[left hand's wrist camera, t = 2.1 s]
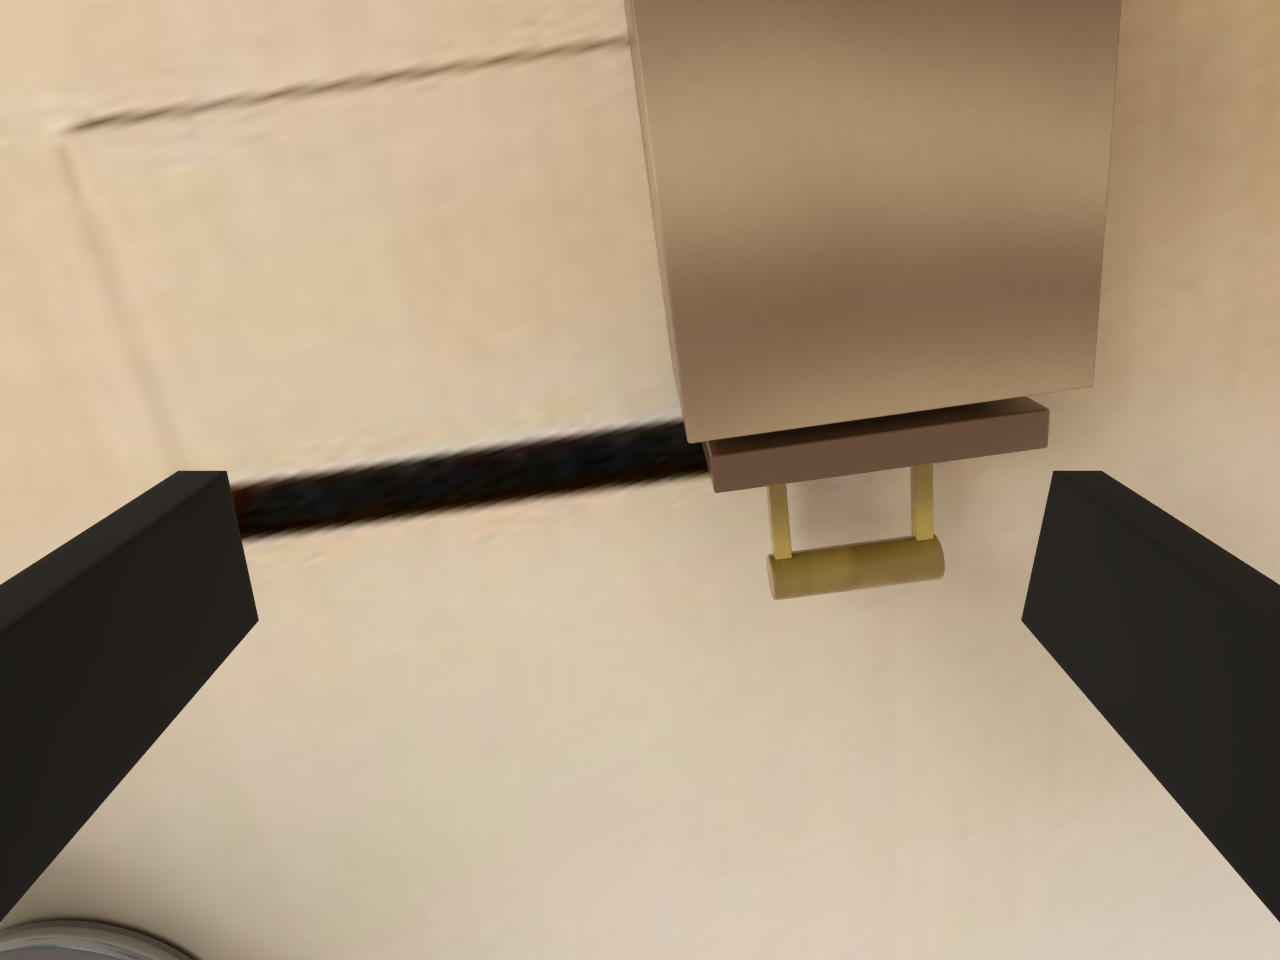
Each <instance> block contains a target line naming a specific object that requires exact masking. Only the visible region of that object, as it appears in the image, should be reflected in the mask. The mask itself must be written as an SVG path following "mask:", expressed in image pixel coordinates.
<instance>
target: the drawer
mask: <svg viewBox="0 0 1280 960" xmlns="http://www.w3.org/2000/svg"><path fill="white" fill-rule="evenodd" d="M1048 429H1049V409H1048V408H1046V407H1044V406H1042V405H1041V404H1039V403H1037V402H1035V401H1034V400H1032V399H1030V398H1028V397H1026V396H1023V397H1016V398H1009V399H1001V400H994V401H987V402H980V403H973V404H966V405H959V406H952V407H945V408H938V409H930V410H923V411H916V412H909V413H902V414H895V415H888V416H881V417H874V418H866V419H859V420H852V421H845V422H838V423H831V424H824V425H817V426H810V427H803V428H795V429H788V430H781V431H774V432H767V433H760V434H753V435H746V436H739V437H732V438H724V439H717V440H710V441H703V442H702V445H703V449H704V453H705V457H706V461H707V465H708V469H709V473H710V477H711V481H712V485H713V489H714V492H715V493H720V492H727V491H734V490H742V489H749V488H756V487H764V486H767V495H768V506H769V517H770V527H771V538H772V549H773V554H770V555H768V556H767V571H768V578H769V584H770V589H771V593H772V596H773V598H774V600H782V599H789V598H797V597H805V596H812V595H820V594H828V593H835V592H843V591H851V590H859V589H866V588H874V587H882V586H889V585H897V584H905V583H912V582H920V581H928V580H935V579H940V578H942V577H943V575H944V568H945V563H944V555H943V550H942V547H941V544H940V542H939V540H938V538H937V536H936V535H935V534H933V463H938V462H946V461H953V460H960V459H967V458H975V457H982V456H989V455H997V454H1004V453H1011V452H1018V451H1026V450H1033V449H1040V448H1046V447H1047V446H1048ZM909 466H911V518H912V535H913V536H905V537H898V538H890V539H883V540H875V541H868V542H860V543H853V544H845V545H838V546H830V547H823V548H815V549H808V550H800V551H793V552H792V551H791V539H790V527H789V515H788V502H787V490H786V483H793V482H800V481H807V480H815V479H822V478H829V477H836V476H844V475H851V474H858V473H866V472H873V471H880V470H887V469H895V468H902V467H909Z"/></svg>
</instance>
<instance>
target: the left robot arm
mask: <svg viewBox="0 0 1280 960" xmlns="http://www.w3.org/2000/svg"><path fill="white" fill-rule="evenodd" d="M258 621H259V620H258V615H257V610H256V606H255V601H254V596H253V592H252V587H251V582H250V578H249V573H248V568H247V564H246V559H245V554H244V550H243V545H242V540H241V536H240V531H239V526H238V522H237V517H236V513H235V508H234V503H233V499H232V494H231V489H230V485H229V480H228V475H227V471H177V472H176V473H174V474H173V475H171V476H170V477H168V478H166V479H165V480H163V481H162V482H160V483H159V484H157V485H156V486H154V487H152V488H151V489H149V490H148V491H146V492H145V493H143V494H142V495H140V496H138V497H137V498H135V499H134V500H132V501H131V502H129V503H127V504H126V505H124V506H123V507H121V508H120V509H118V510H117V511H115V512H113V513H112V514H110V515H109V516H107V517H106V518H104V519H102V520H101V521H99V522H98V523H96V524H95V525H93V526H92V527H90V528H88V529H87V530H85V531H84V532H82V533H81V534H79V535H78V536H76V537H74V538H73V539H71V540H70V541H68V542H67V543H65V544H63V545H62V546H60V547H59V548H57V549H56V550H54V551H53V552H51V553H49V554H48V555H46V556H45V557H43V558H42V559H40V560H38V561H37V562H35V563H34V564H32V565H31V566H29V567H28V568H26V569H24V570H23V571H21V572H20V573H18V574H17V575H15V576H13V577H12V578H10V579H9V580H7V581H6V582H4V583H3V584H1V585H0V922H1V921H2V920H3V918H4V917H5V916H6V915H7V914H8V913H9V911H10V910H11V909H12V908H13V907H14V906H15V904H16V903H17V902H18V901H19V900H20V899H21V897H22V896H23V895H24V894H25V893H26V892H27V890H28V889H29V888H30V887H31V886H32V885H33V883H34V882H35V881H36V880H37V879H38V878H39V876H40V875H41V874H42V873H43V872H44V871H45V869H46V868H47V867H48V866H49V865H50V863H51V862H52V861H53V860H54V859H55V858H56V856H57V855H58V854H59V853H60V852H61V851H62V849H63V848H64V847H65V846H66V845H67V844H68V842H69V841H70V840H71V839H72V838H73V837H74V835H75V834H76V833H77V832H78V831H79V830H80V828H81V827H82V826H83V825H84V824H85V823H86V821H87V820H88V819H89V818H90V817H91V816H92V814H93V813H94V812H95V811H96V810H97V809H98V807H99V806H100V805H101V804H102V803H103V802H104V800H105V799H106V798H107V797H108V796H109V795H110V793H111V792H112V791H113V790H114V789H115V788H116V786H117V785H118V784H119V783H120V782H121V781H122V779H123V778H124V777H125V776H126V775H127V774H128V772H129V771H130V770H131V769H132V768H133V767H134V765H135V764H136V763H137V762H138V761H139V760H140V758H141V757H142V756H143V755H144V754H145V753H146V751H147V750H148V749H149V748H150V747H151V746H152V744H153V743H154V742H155V741H156V740H157V739H158V737H159V736H160V735H161V734H162V733H163V732H164V730H165V729H166V728H167V727H168V726H169V725H170V723H171V722H172V721H173V720H174V719H175V718H176V716H177V715H178V714H179V713H180V712H181V711H182V709H183V708H184V707H185V706H186V705H187V704H188V702H189V701H190V700H191V699H192V698H193V697H194V695H195V694H196V693H197V692H198V691H199V690H200V688H201V687H202V686H203V685H204V684H205V683H206V681H207V680H208V679H209V678H210V677H211V676H212V674H213V673H214V672H215V671H216V670H217V669H218V667H219V666H220V665H221V664H222V663H223V661H224V660H225V659H226V658H227V657H228V656H229V654H230V653H231V652H232V651H233V650H234V649H235V647H236V646H237V645H238V644H239V643H240V642H241V640H242V639H243V638H244V637H245V636H246V635H247V633H248V632H249V631H250V630H251V629H252V628H253V626H254V625H255V624H256V623H257V622H258ZM1021 621H1022V622H1023V623H1024V624H1025V625H1026V626H1027V628H1028V629H1029V630H1030V631H1031V632H1032V633H1033V635H1034V636H1035V637H1036V638H1037V639H1038V640H1039V642H1040V643H1041V644H1042V645H1043V646H1044V647H1045V649H1046V650H1047V651H1048V652H1049V653H1050V654H1051V656H1052V657H1053V658H1054V659H1055V660H1056V662H1057V663H1058V664H1059V665H1060V666H1061V667H1062V669H1063V670H1064V671H1065V672H1066V673H1067V674H1068V676H1069V677H1070V678H1071V679H1072V680H1073V681H1074V683H1075V684H1076V685H1077V686H1078V687H1079V688H1080V690H1081V691H1082V692H1083V693H1084V694H1085V695H1086V697H1087V698H1088V699H1089V700H1090V701H1091V702H1092V704H1093V705H1094V706H1095V707H1096V708H1097V709H1098V711H1099V712H1100V713H1101V714H1102V715H1103V716H1104V718H1105V719H1106V720H1107V721H1108V722H1109V723H1110V725H1111V726H1112V727H1113V728H1114V729H1115V730H1116V732H1117V733H1118V734H1119V735H1120V736H1121V737H1122V739H1123V740H1124V741H1125V742H1126V743H1127V744H1128V746H1129V747H1130V748H1131V749H1132V750H1133V751H1134V753H1135V754H1136V755H1137V756H1138V757H1139V758H1140V760H1141V761H1142V762H1143V763H1144V764H1145V765H1146V767H1147V768H1148V769H1149V770H1150V771H1151V772H1152V774H1153V775H1154V776H1155V777H1156V778H1157V779H1158V781H1159V782H1160V783H1161V784H1162V785H1163V786H1164V788H1165V789H1166V790H1167V791H1168V792H1169V793H1170V795H1171V796H1172V797H1173V798H1174V799H1175V800H1176V802H1177V803H1178V804H1179V805H1180V806H1181V807H1182V809H1183V810H1184V811H1185V812H1186V813H1187V814H1188V816H1189V817H1190V818H1191V819H1192V820H1193V821H1194V823H1195V824H1196V825H1197V826H1198V827H1199V828H1200V830H1201V831H1202V832H1203V833H1204V834H1205V835H1206V837H1207V838H1208V839H1209V840H1210V841H1211V842H1212V844H1213V845H1214V846H1215V847H1216V848H1217V849H1218V851H1219V852H1220V853H1221V854H1222V855H1223V856H1224V858H1225V859H1226V860H1227V861H1228V862H1229V863H1230V865H1231V866H1232V867H1233V868H1234V869H1235V871H1236V872H1237V873H1238V874H1239V875H1240V876H1241V878H1242V879H1243V880H1244V881H1245V882H1246V883H1247V885H1248V886H1249V887H1250V888H1251V889H1252V890H1253V892H1254V893H1255V894H1256V895H1257V896H1258V897H1259V899H1260V900H1261V901H1262V902H1263V903H1264V904H1265V906H1266V907H1267V908H1268V909H1269V910H1270V911H1271V913H1272V914H1273V915H1274V916H1275V917H1276V918H1277V920H1278V921H1279V922H1280V585H1279V584H1277V583H1276V582H1274V581H1273V580H1271V579H1270V578H1268V577H1267V576H1265V575H1263V574H1262V573H1260V572H1259V571H1257V570H1256V569H1254V568H1252V567H1251V566H1249V565H1248V564H1246V563H1245V562H1243V561H1242V560H1240V559H1238V558H1237V557H1235V556H1234V555H1232V554H1231V553H1229V552H1227V551H1226V550H1224V549H1223V548H1221V547H1220V546H1218V545H1217V544H1215V543H1213V542H1212V541H1210V540H1209V539H1207V538H1206V537H1204V536H1202V535H1201V534H1199V533H1198V532H1196V531H1195V530H1193V529H1192V528H1190V527H1188V526H1187V525H1185V524H1184V523H1182V522H1181V521H1179V520H1178V519H1176V518H1174V517H1173V516H1171V515H1170V514H1168V513H1167V512H1165V511H1163V510H1162V509H1160V508H1159V507H1157V506H1156V505H1154V504H1153V503H1151V502H1149V501H1148V500H1146V499H1145V498H1143V497H1142V496H1140V495H1138V494H1137V493H1135V492H1134V491H1132V490H1131V489H1129V488H1128V487H1126V486H1124V485H1123V484H1121V483H1120V482H1118V481H1117V480H1115V479H1114V478H1112V477H1110V476H1109V475H1107V474H1106V473H1104V472H1103V471H1053V475H1052V480H1051V485H1050V489H1049V494H1048V499H1047V503H1046V508H1045V513H1044V517H1043V522H1042V526H1041V531H1040V536H1039V540H1038V545H1037V550H1036V554H1035V559H1034V564H1033V568H1032V573H1031V578H1030V582H1029V587H1028V592H1027V596H1026V601H1025V606H1024V610H1023V615H1022V620H1021ZM0 960H192V959H191V958H189V957H188V956H186V955H185V954H183V953H181V952H180V951H178V950H176V949H174V948H173V947H171V946H169V945H167V944H165V943H163V942H161V941H158V940H156V939H154V938H151V937H149V936H146V935H143V934H141V933H138V932H135V931H131V930H128V929H125V928H121V927H117V926H112V925H107V924H102V923H95V922H87V921H75V920H54V921H41V922H33V923H28V924H23V925H19V926H16V927H12V928H9V929H6V930H4V931H1V932H0Z"/></svg>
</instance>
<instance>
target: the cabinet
mask: <svg viewBox="0 0 1280 960" xmlns="http://www.w3.org/2000/svg"><path fill="white" fill-rule="evenodd" d="M624 4H625V11H626V19H627V26H628V34H629V41H630V49H631V56H632V64H633V71H634V79H635V86H636V94H637V101H638V109H639V116H640V124H641V131H642V139H643V146H644V154H645V161H646V169H647V176H648V184H649V191H650V199H651V206H652V213H653V221H654V228H655V236H656V243H657V251H658V258H659V266H660V273H661V281H662V288H663V296H664V303H665V311H666V318H667V326H668V333H669V341H670V348H671V356H672V363H673V370H674V375H675V380H676V385H677V390H678V395H679V400H680V405H681V410H682V415H683V420H684V425H685V430H686V436H687V441H688V443H696V442H703V441H710V440H717V439H724V438H732V437H739V436H746V435H753V434H760V433H767V432H774V431H781V430H788V429H795V428H803V427H810V426H817V425H824V424H831V423H838V422H845V421H852V420H859V419H866V418H874V417H881V416H888V415H895V414H902V413H909V412H916V411H923V410H930V409H938V408H945V407H952V406H959V405H966V404H973V403H980V402H987V401H994V400H1001V399H1009V398H1016V397H1023V396H1030V395H1037V394H1044V393H1051V392H1058V391H1065V390H1072V389H1080V388H1087V387H1092V386H1093V380H1094V367H1095V353H1096V339H1097V326H1098V312H1099V299H1100V285H1101V271H1102V258H1103V244H1104V231H1105V217H1106V203H1107V190H1108V176H1109V163H1110V149H1111V135H1112V122H1113V108H1114V95H1115V81H1116V67H1117V54H1118V40H1119V26H1120V13H1121V0H624Z"/></svg>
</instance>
